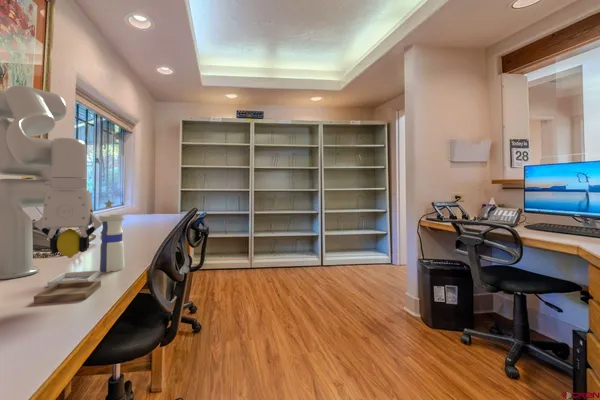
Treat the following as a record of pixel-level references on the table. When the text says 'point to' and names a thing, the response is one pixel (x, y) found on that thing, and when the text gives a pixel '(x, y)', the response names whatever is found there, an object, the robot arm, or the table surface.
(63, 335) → the table surface
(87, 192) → the robot arm
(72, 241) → the lemon
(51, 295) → the tray
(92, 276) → the frame
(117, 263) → the water bottle
